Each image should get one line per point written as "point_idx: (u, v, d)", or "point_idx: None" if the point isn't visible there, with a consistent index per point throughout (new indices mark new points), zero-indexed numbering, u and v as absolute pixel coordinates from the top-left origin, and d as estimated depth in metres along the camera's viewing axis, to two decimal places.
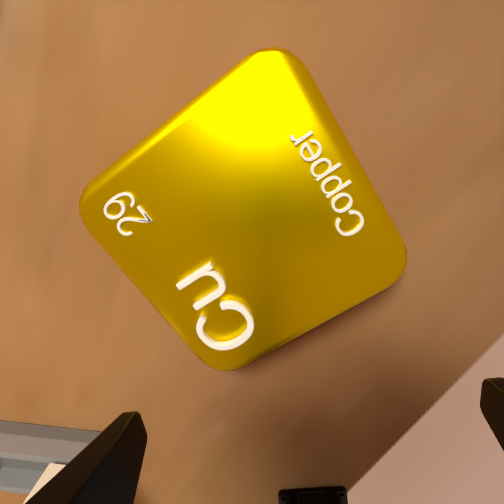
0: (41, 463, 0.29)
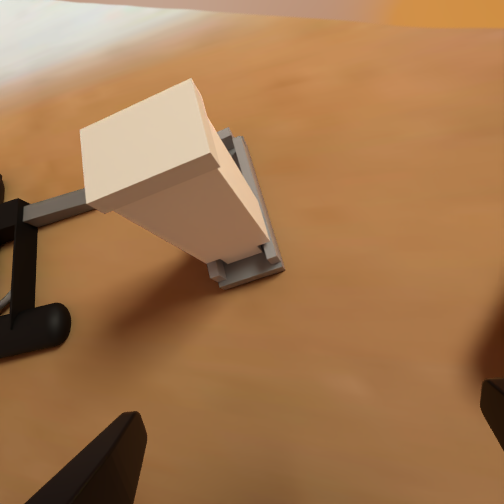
0: None
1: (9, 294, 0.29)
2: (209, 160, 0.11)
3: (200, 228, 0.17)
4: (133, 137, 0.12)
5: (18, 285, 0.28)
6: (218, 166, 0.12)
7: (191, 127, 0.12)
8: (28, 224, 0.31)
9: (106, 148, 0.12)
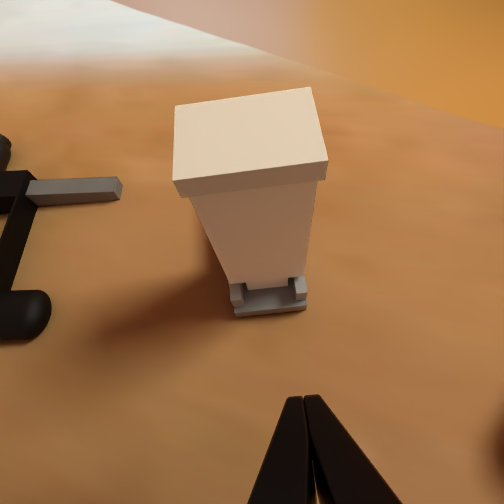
0: None
1: None
2: (321, 168, 0.11)
3: (254, 243, 0.16)
4: (238, 126, 0.11)
5: (0, 261, 0.25)
6: (323, 178, 0.11)
7: (307, 131, 0.11)
8: (29, 200, 0.28)
9: (205, 130, 0.11)
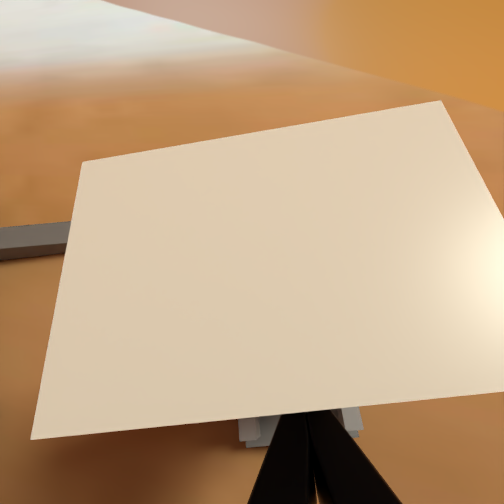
0: None
1: None
2: None
3: None
4: (247, 228, 0.04)
5: None
6: None
7: (472, 251, 0.03)
8: None
9: (151, 239, 0.04)
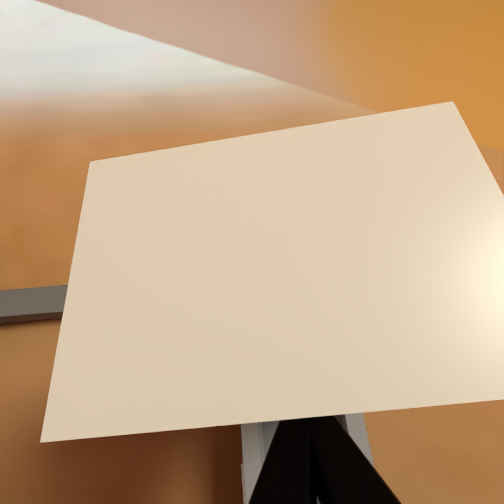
0: None
1: None
2: None
3: None
4: (258, 229, 0.04)
5: None
6: None
7: (486, 254, 0.03)
8: None
9: (160, 240, 0.04)
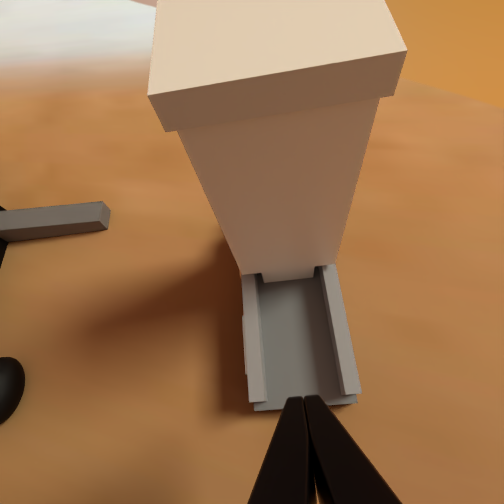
0: None
1: None
2: (391, 70, 0.06)
3: (274, 215, 0.11)
4: (253, 16, 0.07)
5: None
6: (392, 92, 0.07)
7: (367, 14, 0.07)
8: None
9: (201, 25, 0.07)
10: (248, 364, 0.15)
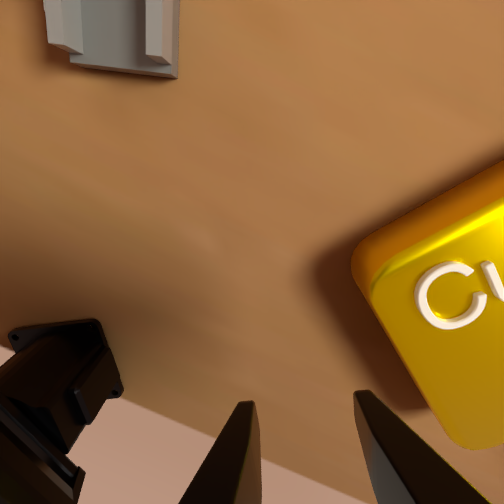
0: None
1: None
2: None
3: None
4: None
5: None
6: None
7: None
8: None
9: None
10: None
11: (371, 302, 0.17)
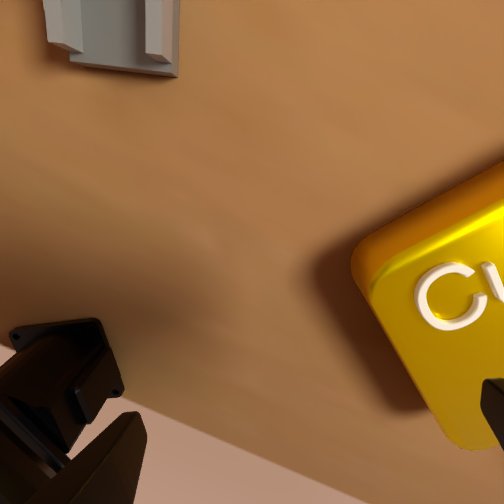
0: None
1: None
2: None
3: None
4: None
5: None
6: None
7: None
8: None
9: None
10: None
11: (370, 302, 0.16)
